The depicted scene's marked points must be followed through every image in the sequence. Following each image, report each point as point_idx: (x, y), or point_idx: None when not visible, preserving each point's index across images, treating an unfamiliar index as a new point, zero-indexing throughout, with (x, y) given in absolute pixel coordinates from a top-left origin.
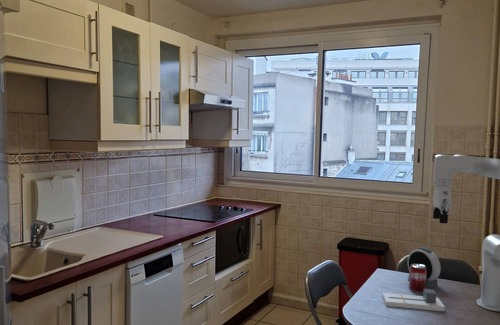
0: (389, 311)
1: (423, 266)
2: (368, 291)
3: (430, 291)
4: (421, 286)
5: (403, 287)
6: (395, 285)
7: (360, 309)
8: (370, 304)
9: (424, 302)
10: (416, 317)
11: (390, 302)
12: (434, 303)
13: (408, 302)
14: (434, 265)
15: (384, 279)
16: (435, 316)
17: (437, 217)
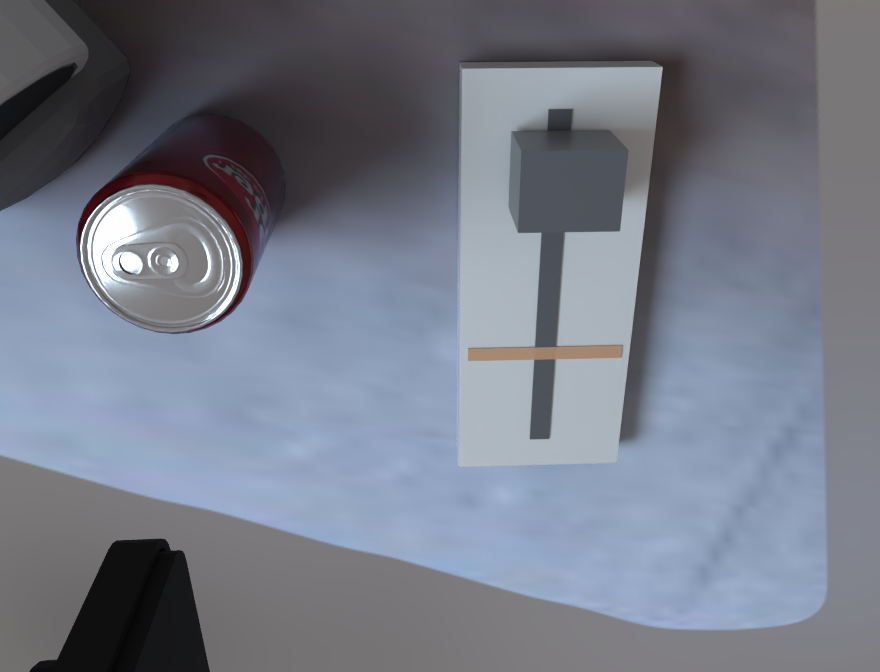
0: (694, 433)
1: (154, 207)
2: (371, 517)
3: (577, 187)
4: (273, 176)
5: None
6: None
7: (681, 571)
8: (598, 521)
9: None
10: (775, 291)
11: (618, 434)
12: None
13: (613, 327)
14: (33, 54)
15: (50, 394)
16: (751, 158)
17: (188, 660)
